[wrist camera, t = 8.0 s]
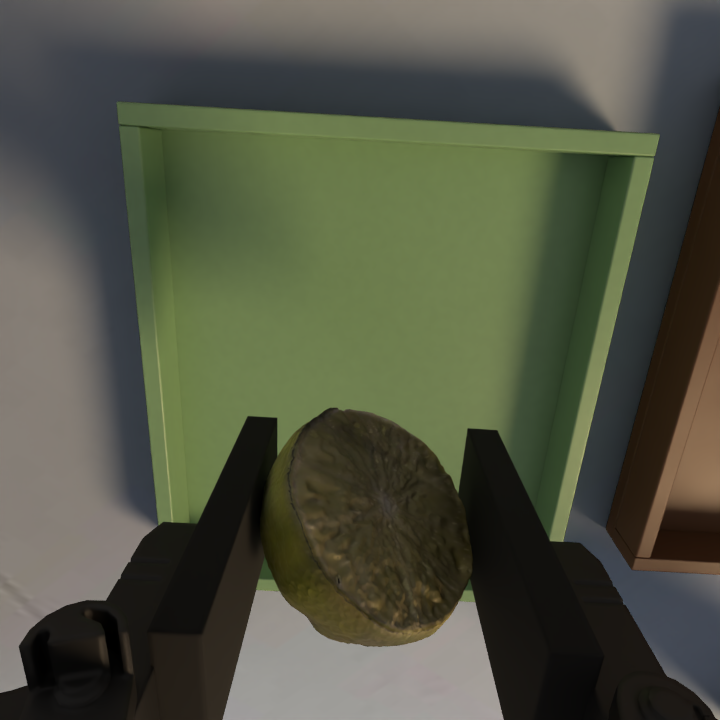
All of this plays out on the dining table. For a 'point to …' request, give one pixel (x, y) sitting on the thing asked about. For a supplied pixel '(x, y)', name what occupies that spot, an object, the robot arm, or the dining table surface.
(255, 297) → the green tray
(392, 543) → the lime
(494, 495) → the robot arm
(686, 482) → the walnut tray
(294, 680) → the dining table surface
